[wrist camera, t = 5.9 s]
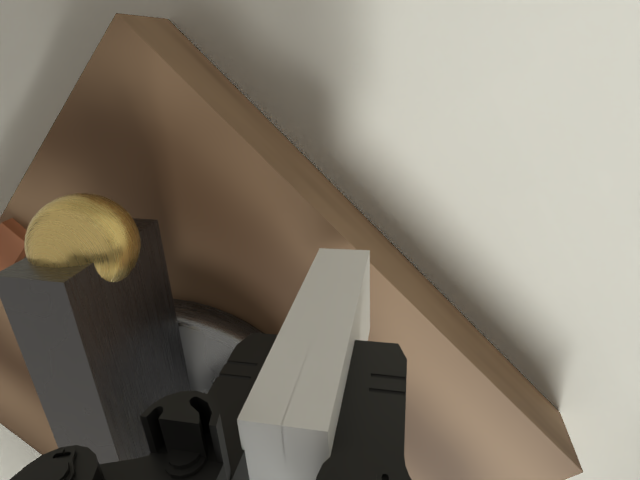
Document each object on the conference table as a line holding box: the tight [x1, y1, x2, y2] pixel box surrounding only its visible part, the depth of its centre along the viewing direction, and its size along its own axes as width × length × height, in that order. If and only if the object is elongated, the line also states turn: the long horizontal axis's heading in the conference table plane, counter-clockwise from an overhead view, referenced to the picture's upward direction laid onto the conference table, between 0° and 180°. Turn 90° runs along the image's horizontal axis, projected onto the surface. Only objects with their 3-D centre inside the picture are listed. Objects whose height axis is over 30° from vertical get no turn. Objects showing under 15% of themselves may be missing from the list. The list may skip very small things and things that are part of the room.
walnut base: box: [0, 13, 583, 480], centre depth 20 cm, size 22×23×4 cm
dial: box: [0, 193, 265, 464], centre depth 15 cm, size 17×12×7 cm
